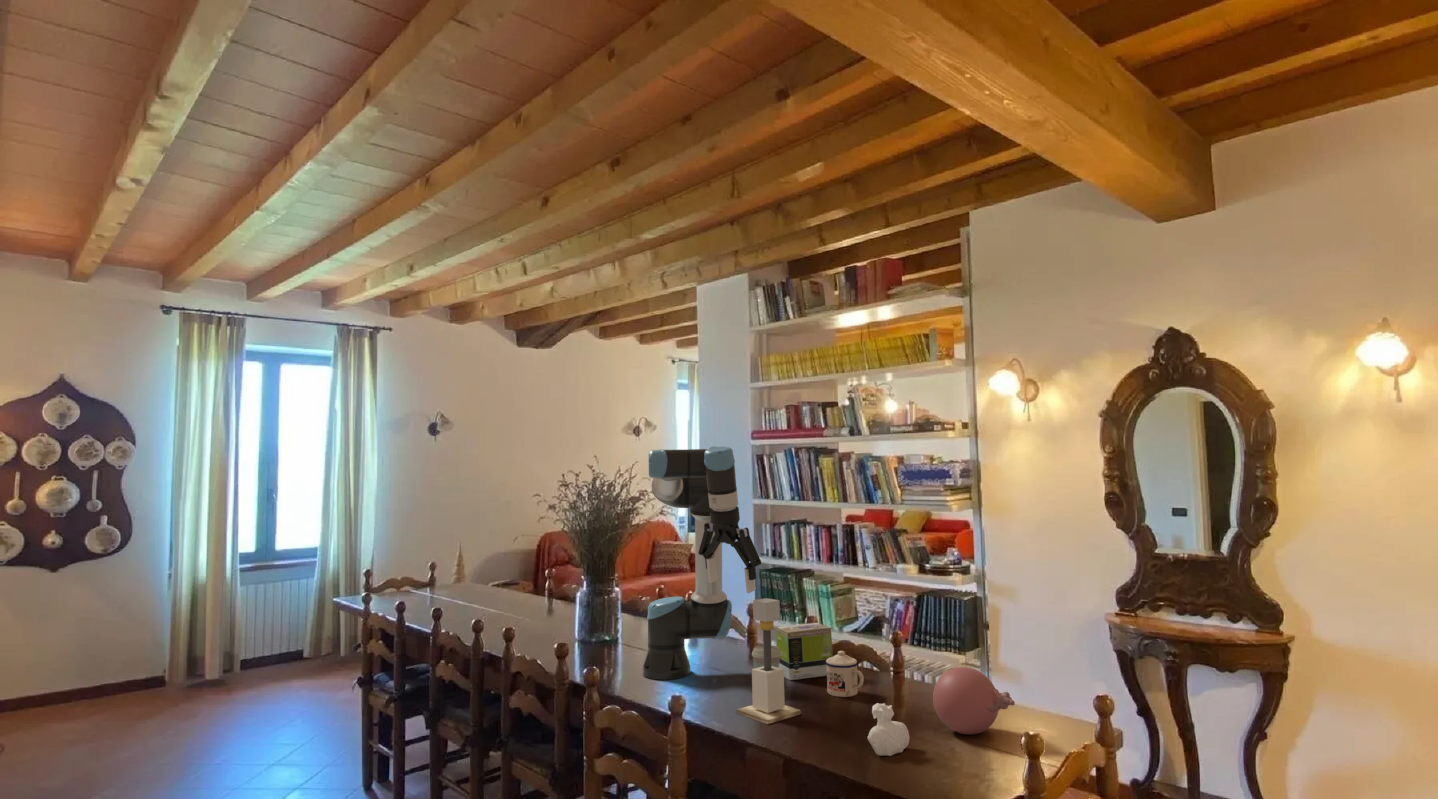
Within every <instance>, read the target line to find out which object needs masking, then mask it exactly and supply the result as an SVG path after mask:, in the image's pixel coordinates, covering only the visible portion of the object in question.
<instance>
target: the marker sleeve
mask: <svg viewBox="0 0 1438 799" xmlns="http://www.w3.org/2000/svg"><path fill="white" fill-rule="evenodd" d="M771 667H772V670H771V671H765V670H764V666H763V667H758V668H754V667H753V668H751V685H752V686H751V689H752V694H751V695H752V696H751V697H752V705H753V708H755V709H758V710H761V711H764V712H767V713H770V712H773V711H776V710H780V709H783V708H785V705H786V704H785V677H784V669H781V668H777V667H773V666H771Z"/></svg>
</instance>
